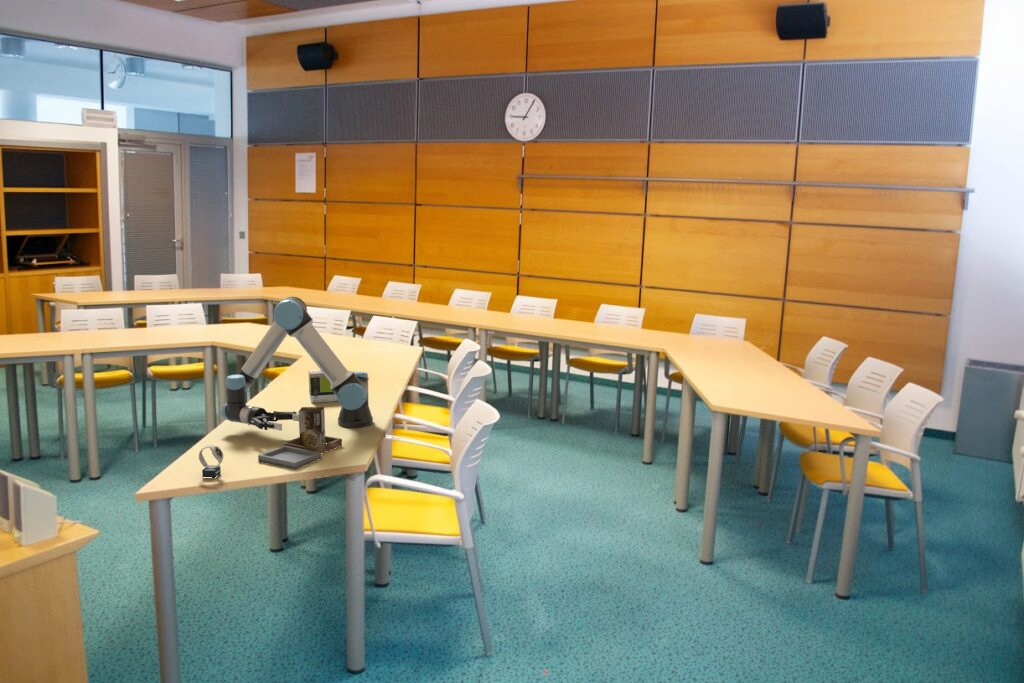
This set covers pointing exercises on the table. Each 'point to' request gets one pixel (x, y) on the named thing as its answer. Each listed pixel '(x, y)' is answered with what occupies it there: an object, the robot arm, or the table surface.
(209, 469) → the watch
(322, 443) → the coffee box
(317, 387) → the tea box
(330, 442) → the collar
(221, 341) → the table surface
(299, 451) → the tray
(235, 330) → the table surface
